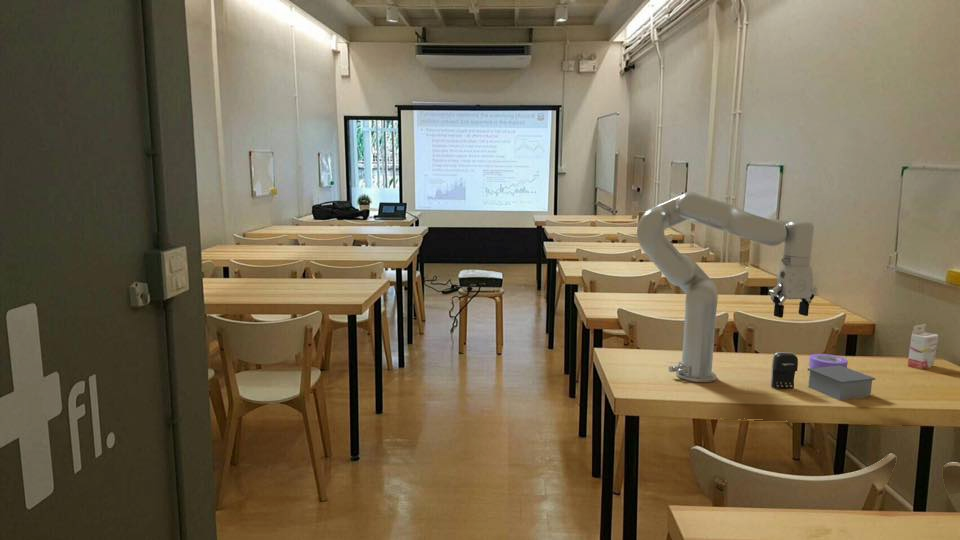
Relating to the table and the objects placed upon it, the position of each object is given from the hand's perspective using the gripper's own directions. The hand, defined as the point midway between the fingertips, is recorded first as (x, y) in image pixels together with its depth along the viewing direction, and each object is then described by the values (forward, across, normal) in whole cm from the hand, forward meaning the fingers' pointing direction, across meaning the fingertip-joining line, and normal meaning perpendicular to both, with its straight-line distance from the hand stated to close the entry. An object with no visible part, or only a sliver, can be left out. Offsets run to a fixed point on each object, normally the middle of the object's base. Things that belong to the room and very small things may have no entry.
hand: (790, 315), depth 199 cm
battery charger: (+24, -1, -1) cm, 24 cm away
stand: (+23, +14, -8) cm, 28 cm away
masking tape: (+24, +30, +12) cm, 40 cm away
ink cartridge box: (+23, +65, +5) cm, 69 cm away
